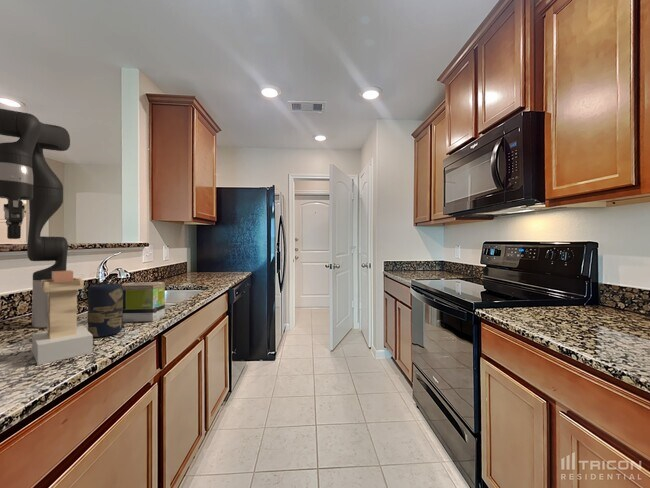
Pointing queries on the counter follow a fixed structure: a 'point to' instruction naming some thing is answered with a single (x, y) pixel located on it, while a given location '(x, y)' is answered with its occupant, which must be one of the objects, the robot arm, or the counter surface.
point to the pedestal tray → (62, 306)
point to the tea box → (143, 301)
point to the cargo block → (62, 276)
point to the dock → (61, 346)
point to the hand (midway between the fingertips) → (13, 238)
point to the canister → (105, 309)
